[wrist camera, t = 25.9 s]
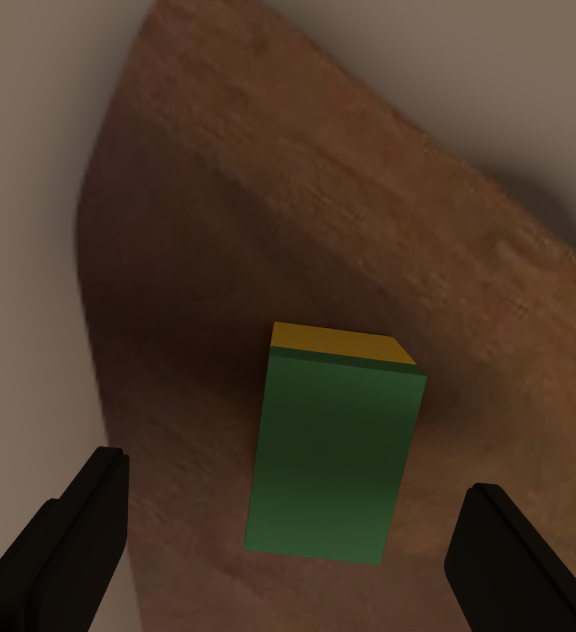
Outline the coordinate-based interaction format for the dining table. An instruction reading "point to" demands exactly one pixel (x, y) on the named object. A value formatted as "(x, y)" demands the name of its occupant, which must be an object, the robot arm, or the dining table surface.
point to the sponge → (331, 443)
